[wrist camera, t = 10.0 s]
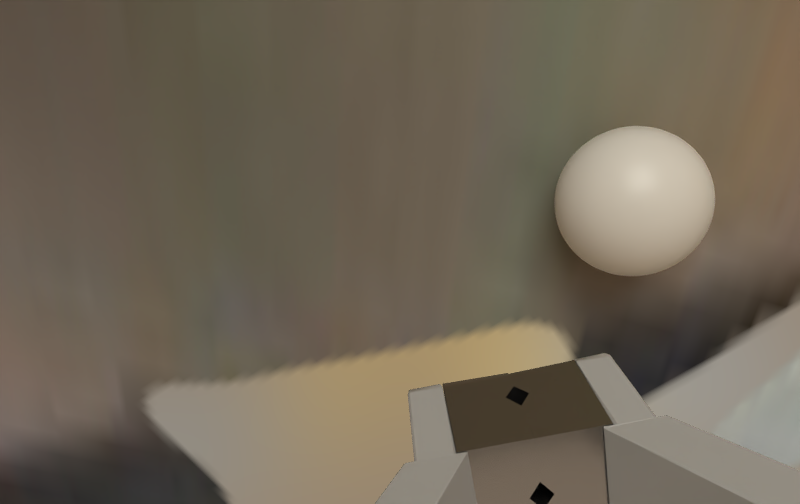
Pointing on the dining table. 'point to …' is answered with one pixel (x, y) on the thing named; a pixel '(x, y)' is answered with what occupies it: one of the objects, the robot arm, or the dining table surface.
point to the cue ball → (634, 201)
